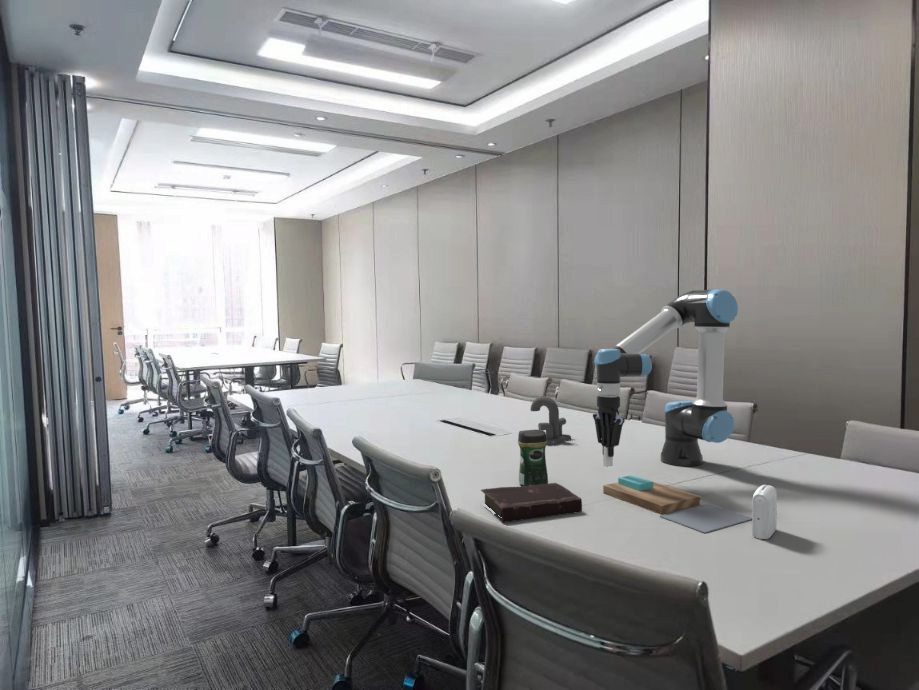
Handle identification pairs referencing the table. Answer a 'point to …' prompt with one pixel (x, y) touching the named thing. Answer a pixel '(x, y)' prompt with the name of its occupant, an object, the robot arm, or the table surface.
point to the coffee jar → (532, 457)
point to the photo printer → (764, 512)
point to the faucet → (551, 420)
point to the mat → (706, 518)
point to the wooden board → (654, 497)
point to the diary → (531, 501)
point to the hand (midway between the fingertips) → (608, 465)
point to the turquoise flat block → (635, 482)
